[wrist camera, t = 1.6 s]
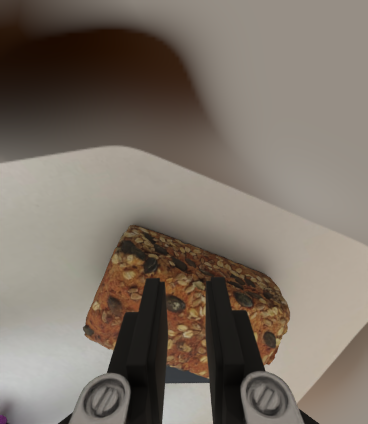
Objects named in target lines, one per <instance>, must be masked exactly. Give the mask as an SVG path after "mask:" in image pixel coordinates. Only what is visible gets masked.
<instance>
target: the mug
mask: <svg viewBox="0 0 368 424" xmlns="http://www.w3.org/2000/svg"><path fill="white" fill-rule="evenodd" d="M6 422H7V419H6V417H5V416H3V415H0V424H6Z"/></svg>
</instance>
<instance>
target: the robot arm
mask: <svg viewBox="0 0 368 424" xmlns="http://www.w3.org/2000/svg"><path fill="white" fill-rule="evenodd" d="M205 334H206V348H207V359H208V371H209V382H210V393H211V405H212V416H213V424H319V423H318V422H316V421H315V420H313V419H312V418H311V417H309V416H308V415H307V414H305V413H304V412H303V411H301V410H300V409H298V406H297V404H296V401H295V399H294V396H293V394H292V392H291V390H290V388H289V386H288V385H287V384H286V383H285V382H284V381H283V380H282V379H281V378H279V377H278V376H276V375H275V374H272V373H269V372H266V371H265V368H264V365H263V362H262V358H261V355H260V352H259V349H258V345H257V342H256V339H255V335H254V332H253V329H252V326H251V322H250V319H249V316H248V313H247V311H246V310H232V307H231V303H230V299H229V294H228V290H227V286H226V282H225V278H224V277H211V281H206V319H205ZM167 349H168V321H167V305H166V288H165V281H164V282H160V278H146V281H145V285H144V290H143V294H142V298H141V302H140V307H139V311H138V312H126V313H125V315H124V317H123V321H122V324H121V327H120V331H119V334H118V337H117V341H116V344H115V348H114V351H113V354H112V358H111V361H110V364H109V368H108V371H107V374H103V375H100V376H98V377H96V378H94V379H93V380H92V381H90V382H89V383H88V384H87V385H86V386H85V387H84V389H83V390H82V392H81V394H80V396H79V398H78V401H77V403H76V406H75V409H74V411H73V413H71V414H70V415H69V416H68V417H66V418H65V419H64V420H62V421H61V422H60V423H58V424H162V416H163V403H164V389H165V376H166V362H167Z"/></svg>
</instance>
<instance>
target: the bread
mask: <svg viewBox="0 0 368 424" xmlns="http://www.w3.org/2000/svg"><path fill="white" fill-rule="evenodd" d="M211 277H224V278H225V282H226V286H227V290H228V294H229V299H230V303H231V307H232V310H246V311H247V313H248V316H249V319H250V322H251V326H252V329H253V332H254V335H255V339H256V342H257V345H258V349H259V352H260V355H261V358H262V362H263V365H265V364H268V365H269V364H270V363H271V362H272V361H273V360H274V358H275V354H276V353H277V350H278V347H279V344H280V340H281V339H282V335H284V334H285V333H286V332H287V329H288V327H287V323H288V322H289V320H290V311H289V307H288V304H287V302H286V301H285V299H284V298H283V297H282V294H281V291H280V289H279V288H278V286H277V285H276V284H275V283H274V282H273V281H272V279H271V278H270V277H268V276H267V275H265V274H263V273H261V272H258V271H255V270H252V269H250V268H247V267H245V266H243V265H241V264H238V263H234V262H232V261H231V260H228V259H226V258H224V257H220V256H218V255H216V254H212V253H210V252H208V251H204V250H202V249H201V248H197V247H194V246H192V245H191V244H184V243H182V242H181V241H180V240H177V239H174V238H171V237H169V236H166V235H164V234H161V233H157V232H155V231H152V230H148V229H144V228H141V227H139V226H136V225H130V226H129V228H128V230H127V231H126V232H125V233H124V234H123V235H122V237H121V239H120V241H119V243H118V245H117V247H116V248H115V250H114V252H113V255H112V257H111V259H110V262H109V264H108V267H107V269H106V272H105V274H104V277H103V279H102V281H101V283H100V286H99V288H98V290H97V292H96V295H95V298H94V301H93V303H92V305H91V307H90V310H89V312H88V315H87V317H86V325H85V326H84V327H83V330H84V331H85V336H86V337H87V338H89V339H90V340H92V341H94V342H97V343H99V344H101V345H102V346H104V347H106V348H108V349H111V350H113V351H114V348H115V344H116V341H117V337H118V334H119V331H120V327H121V324H122V321H123V317H124V315H125V313H126V312H138V311H139V307H140V302H141V298H142V294H143V290H144V285H145V281H146V278H160V282H164V281H165V288H166V305H167V321H168V349H167V362H166V365H167V366H170V367H175V368H177V369H179V370H181V371H184V372H185V371H189V372H191V373H194V374H197V375H199V376H202V377H205V378H208V379H209V371H208V359H207V348H206V334H205V319H206V281H211Z"/></svg>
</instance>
